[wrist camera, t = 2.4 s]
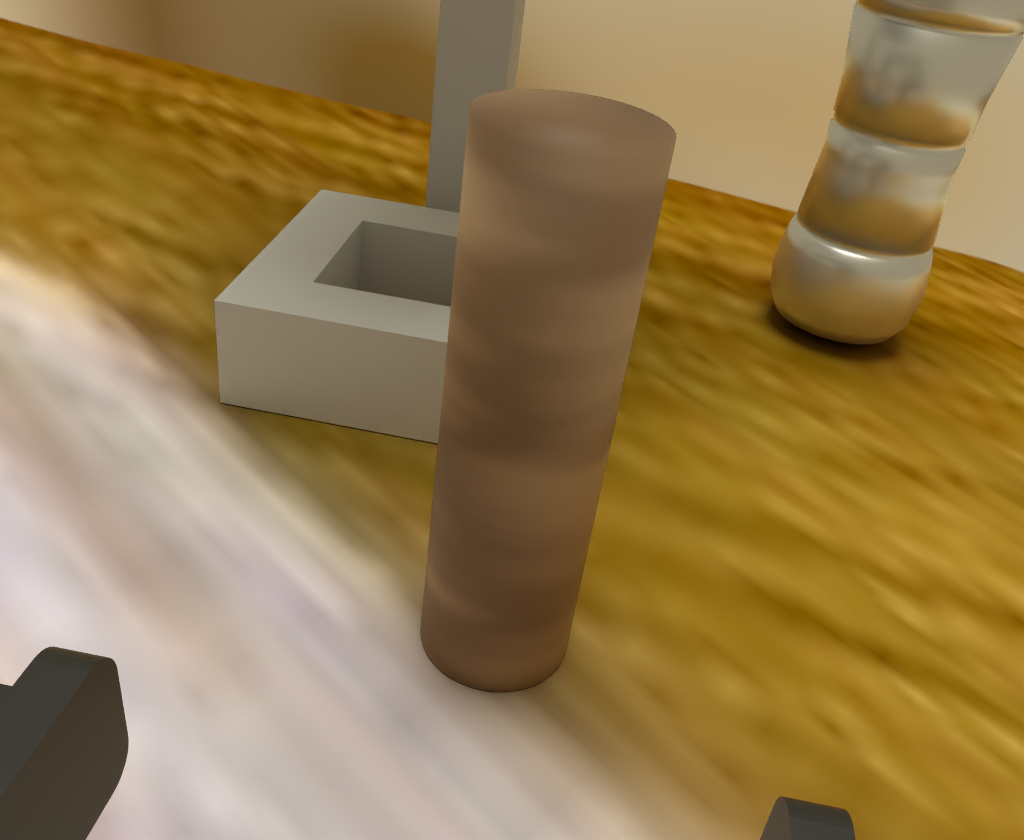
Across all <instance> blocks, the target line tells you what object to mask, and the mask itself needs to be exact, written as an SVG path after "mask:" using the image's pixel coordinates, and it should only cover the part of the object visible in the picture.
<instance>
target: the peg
mask: <svg viewBox="0 0 1024 840" xmlns="http://www.w3.org/2000/svg"><path fill="white" fill-rule="evenodd" d="M675 141H676V133H675V131H674V129H673V128H672V127H671V126H670V125H669V124H668V123H667V122H666V121H664V120H662V119H661V118H659V117H657V116H655V115H654V114H652V113H649V112H647V111H645V110H643V109H640V108H637V107H634V106H632V105H628V104H625V103H622V102H618V101H615V100H611V99H606V98H603V97H598V96H593V95H588V94H581V93H575V92H567V91H558V90H544V89H543V90H542V89H514V90H504V91H497V92H492V93H488V94H485V95H482V96H480V97H478V98H476V99H475V100H473V101H472V102H471V104H470V106H469V116H468V126H467V137H466V148H465V158H464V169H463V180H462V191H461V201H460V212H459V223H458V234H457V244H456V255H455V266H454V276H453V287H452V298H451V309H450V319H449V330H448V341H447V352H446V362H445V373H444V384H443V395H442V405H441V416H440V427H439V437H438V448H437V459H436V470H435V480H434V491H433V502H432V513H431V523H430V534H429V545H428V555H427V566H426V577H425V588H424V598H423V609H422V620H421V640H422V644H423V647H424V649H425V652H426V654H427V655H428V657H429V658H430V660H431V661H432V662H433V663H434V665H435V666H436V667H437V668H438V669H439V670H441V671H442V672H443V673H444V674H446V675H447V676H448V677H450V678H452V679H453V680H455V681H457V682H459V683H461V684H464V685H466V686H469V687H472V688H476V689H480V690H485V691H494V692H509V691H516V690H521V689H525V688H528V687H531V686H534V685H536V684H538V683H540V682H542V681H544V680H545V679H547V678H548V677H549V676H551V675H552V674H553V673H554V672H555V671H556V670H557V668H558V667H559V666H560V664H561V662H562V660H563V658H564V656H565V653H566V649H567V644H568V640H569V635H570V630H571V626H572V621H573V616H574V612H575V607H576V602H577V598H578V593H579V588H580V584H581V579H582V574H583V570H584V565H585V560H586V556H587V551H588V546H589V542H590V537H591V532H592V528H593V523H594V518H595V514H596V509H597V504H598V500H599V495H600V491H601V486H602V481H603V477H604V472H605V467H606V463H607V458H608V453H609V449H610V444H611V439H612V435H613V430H614V425H615V421H616V416H617V411H618V407H619V402H620V397H621V393H622V388H623V383H624V379H625V374H626V369H627V365H628V360H629V355H630V351H631V346H632V341H633V337H634V332H635V327H636V323H637V318H638V314H639V309H640V304H641V300H642V295H643V290H644V286H645V281H646V276H647V272H648V267H649V262H650V258H651V253H652V248H653V244H654V239H655V234H656V230H657V225H658V220H659V216H660V211H661V206H662V202H663V197H664V192H665V188H666V183H667V178H668V173H669V169H670V164H671V160H672V155H673V150H674V146H675Z"/></svg>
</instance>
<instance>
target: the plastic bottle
mask: <svg viewBox="0 0 1024 840" xmlns="http://www.w3.org/2000/svg"><path fill="white" fill-rule="evenodd" d="M1023 34H1024V0H857V1H856V4H855V5H854V9H853V15H852V21H851V27H850V33H849V39H848V45H847V51H846V57H845V63H844V69H843V74H842V78H841V82H840V86H839V90H838V94H837V98H836V101H835V105H834V111H835V114H834V117H833V118H832V119H831V121H830V125H829V129H828V133H827V137H826V141H825V143H824V146H823V148H822V151H821V153H820V156H819V158H818V161H817V163H816V166H815V169H814V171H813V173H812V176H811V178H810V181H809V183H808V186H807V188H806V191H805V194H804V196H803V199H802V201H801V203H800V206H799V209H798V212H797V213H796V214H795V215H794V216H793V218H792V220H791V222H790V223H789V225H788V227H787V229H786V231H785V233H784V235H783V237H782V239H781V242H780V244H779V246H778V248H777V250H776V253H775V255H774V258H773V263H772V272H771V280H770V291H771V295H772V298H773V300H774V303H775V306H776V309H777V310H778V312H779V313H780V314H781V315H782V316H783V317H784V318H785V319H786V320H788V321H789V322H790V323H792V324H793V325H795V326H797V327H799V328H800V329H802V330H805V331H807V332H809V333H811V334H814V335H817V336H820V337H823V338H826V339H830V340H834V341H838V342H844V343H850V344H875V343H880V342H883V341H886V340H887V339H889V338H890V337H892V336H893V335H895V334H896V333H898V332H899V331H901V330H902V329H904V328H905V327H906V326H907V324H908V322H909V321H910V319H911V318H912V316H913V314H914V313H915V311H916V310H917V308H918V306H919V305H920V303H921V302H922V300H923V298H924V295H925V291H926V287H927V283H928V279H929V275H930V270H931V264H932V258H933V248H932V246H933V245H934V242H935V239H936V236H937V232H938V229H939V226H940V222H941V219H942V216H943V212H944V209H945V206H946V202H947V199H948V195H949V192H950V189H951V185H952V182H953V179H954V175H955V172H956V170H957V168H958V166H959V163H960V161H961V159H962V157H963V155H964V153H965V145H966V143H967V141H969V140H970V139H971V137H972V135H973V133H974V130H975V128H976V126H977V124H978V121H979V119H980V117H981V115H982V113H983V110H984V108H985V106H986V104H987V101H988V100H989V98H990V96H991V95H992V93H993V91H994V89H995V87H996V86H997V83H998V82H999V80H1000V78H1001V77H1002V75H1003V73H1004V71H1005V69H1006V68H1007V66H1008V64H1009V62H1010V60H1011V59H1012V57H1013V55H1014V53H1015V52H1016V50H1017V48H1018V46H1019V44H1020V43H1021V41H1022V39H1023V36H1022V35H1023Z"/></svg>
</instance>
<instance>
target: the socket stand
mask: <svg viewBox="0 0 1024 840" xmlns="http://www.w3.org/2000/svg"><path fill="white" fill-rule="evenodd" d="M524 6H525V0H441V1H440V15H439V29H438V43H437V57H436V72H435V85H434V100H433V113H432V114H433V115H432V127H431V141H430V155H429V169H428V183H427V197H426V207H421V206H415V205H410V204H404V203H398V202H392V201H386V200H381V199H375V198H369V197H363V196H357V195H351V194H346V193H340V192H334V191H328V190H321V191H320V192H319V193H318V194H317V195H316V196H315V197H314V198H313V199H312V200H311V201H310V202H309V203H308V204H307V205H306V206H305V207H304V208H303V209H302V210H301V211H300V212H299V213H298V214H297V215H296V216H295V217H294V218H293V220H292V221H291V222H290V223H289V224H288V225H287V226H286V227H285V228H284V229H283V230H282V231H281V232H280V233H279V234H278V235H277V236H276V237H275V238H274V239H273V240H272V241H271V242H270V243H269V244H268V245H267V246H266V247H265V248H264V249H263V251H262V252H261V253H260V254H259V255H258V256H257V257H256V258H255V259H254V260H253V261H252V262H251V263H250V264H249V265H248V266H247V267H246V268H245V269H244V270H243V271H242V272H241V273H240V274H239V275H238V276H237V277H236V278H235V279H234V280H233V281H232V283H231V284H230V285H229V286H228V287H227V288H226V289H225V290H224V291H223V292H222V293H221V294H220V295H219V296H218V297H217V298H216V299H215V300H214V305H215V321H216V338H217V355H218V372H219V389H220V403H226V404H231V405H236V406H242V407H247V408H252V409H257V410H263V411H268V412H273V413H279V414H284V415H289V416H295V417H300V418H305V419H310V420H316V421H321V422H326V423H332V424H337V425H342V426H347V427H353V428H358V429H363V430H369V431H374V432H379V433H385V434H390V435H395V436H400V437H406V438H411V439H416V440H422V441H427V442H432V443H438V437H439V427H440V416H441V405H442V395H443V384H444V373H445V362H446V352H447V341H448V330H449V319H450V309H451V298H452V287H453V276H454V266H455V255H456V244H457V234H458V223H459V212H460V201H461V191H462V180H463V169H464V158H465V148H466V137H467V126H468V116H469V106H470V104H471V102H472V101H473V100H475V99H476V98H478V97H480V96H482V95H485V94H488V93H492V92H497V91H504V90H514V89H515V84H516V74H517V66H518V58H519V49H520V40H521V32H522V23H523V15H524Z"/></svg>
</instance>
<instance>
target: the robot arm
mask: <svg viewBox="0 0 1024 840" xmlns="http://www.w3.org/2000/svg"><path fill="white" fill-rule="evenodd" d="M127 753H128V732H127V726H126V720H125V714H124V708H123V701H122V695H121V689H120V683H119V677H118V671H117V666H116V664H115V662H114V660H113V659H111V658H108V657H103V656H98V655H93V654H88V653H83V652H78V651H73V650H68V649H63V648H58V647H48V648H46V649H44V650H43V651H41V652H40V653H39V654H38V655H37V656H36V657H35V658H34V659H33V661H32V662H31V663H30V664H29V666H28V667H27V668H26V669H25V671H24V672H23V673H22V675H21V676H20V677H19V678H18V680H17V681H16V682H15V683H14V685H13V686H8V685H3V684H0V840H86V838H87V836H88V835H89V833H90V831H91V830H92V828H93V826H94V824H95V823H96V821H97V819H98V818H99V816H100V814H101V813H102V811H103V809H104V808H105V806H106V804H107V803H108V801H109V799H110V798H111V796H112V794H113V792H114V791H115V789H116V787H117V785H118V783H119V780H120V778H121V775H122V772H123V769H124V766H125V762H126V758H127ZM760 840H855V834H854V828H853V823H852V820H851V817H850V815H849V813H848V812H847V810H845V809H842V808H837V807H832V806H827V805H822V804H817V803H812V802H807V801H802V800H797V799H792V798H787V797H779V798H778V799H777V800H776V802H775V804H774V806H773V809H772V811H771V814H770V816H769V819H768V821H767V824H766V826H765V828H764V831H763V833H762V836H761V838H760Z"/></svg>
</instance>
